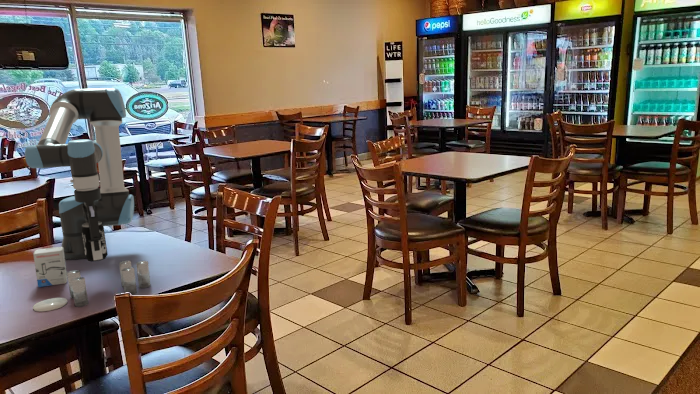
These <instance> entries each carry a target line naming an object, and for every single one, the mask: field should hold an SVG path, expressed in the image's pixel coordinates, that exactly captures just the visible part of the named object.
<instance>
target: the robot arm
mask: <svg viewBox="0 0 700 394" xmlns="http://www.w3.org/2000/svg"><path fill="white" fill-rule="evenodd" d="M126 111H127V110H126V106H125V102H124V99H123V96H122V94H121V92H120V90H119V89H117V88H115V87H110V88H109V87H98V88H96V87H95V88H74V89H71V90H68V91H66V92H64V93H63V94H61V95H60V96H58V97H57V98H56V99H54V101H53V102H52V103H51V105H50V108H49V115H50V116H49V118H48V120H47V122H46V125H45V127H44V130H43V132H42V134H41V137H40V138H39V141H38V143H37V144H33V145H28V146H26V148H25V150H24V158H25V163H26V164H27V165H28V167H29V168H31V169H47V168H63V167H66V168H67V167H70V173H71V174H70V175H71V179H70V181H69V182H70V184H71V183H72V186H73V189H74V190H73V193H74V195H73V196H72V195H71V196H69V197H66V198H63V199H62V200H60V201H59V203H58V214H59V219H60V226H61V230H62V231H61V232H62V242H61V246H60V247H63V248H64V256H65V260H82V259H86V257H85V250H84V244H83V237H82V231H81V229H82V227H83V226H82V225H83V224H84V223H88V224H89V230H90V235H91V240H89V242H91V246H92V253H93V260H100V259H103V256H102V249H101V242H100V240H101V237H100V231H99V225H98V221H99V222H102V225H103V227H110V226H121V225H128V224H131V222H132V220H133V218H134V213H135V197H134V195H133V194H130V191H129V189H128V188H127V187H125V181H124V179H125V178H124V171H123V170H124V169H123V159H122V149H121V139H120V137H121V136H120V130H119V127H120V126H121V125H122V124H123V119H124V118H126V117H127V113H126ZM77 120H89V124H91V126H92V127H93V128H94V133H95V134H94V135H95V141H93V140H92V139H84V138H83V139H74V140H70V141H68V142H67V140H68V137H69V134H70V133H71V129H72V126H73V125H74V124H75V123H76V122H77ZM66 142H67V143H66ZM97 166H98V167H97ZM103 260H104V259H103ZM100 261H101V260H100Z"/></svg>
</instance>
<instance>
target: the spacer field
mask: <svg viewBox="0 0 700 394" xmlns="http://www.w3.org/2000/svg"><path fill="white" fill-rule="evenodd" d="M118 265H119V274H120V282H121V287H122V288H123V290H124V291H123V292H124V293H125V292H130V293H131V294H132V295H131V296H134V295H136V294H137V293H138V290H137V284H138V288H139V289H146V287H147V288H149V287H151V276H150V268H149V262H148V261H147V260H143V261H142V260H141V261H138V262H136V263H135V266H136V272H135V268H134V267H132V261H131V260H123V261H119V262H118ZM135 273H137V274H135ZM136 275H137V281H136ZM67 278H68V279H67V282H68V289H69V295H70V299H73V300H74V306H75V307H76V308H77V307H78V308H79V307H85V306H87V305H89V297H88V292H87V291H88V290H87V284H86V278H85V277H83V276H81V270H78V269H76V270H75V269H74V270H70V271H67ZM137 282H138V283H137Z"/></svg>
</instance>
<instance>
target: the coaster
mask: <svg viewBox="0 0 700 394" xmlns="http://www.w3.org/2000/svg"><path fill="white" fill-rule="evenodd" d="M67 303H68V299H67V298H64V297H51V298H48V299H44V300H41V301H39V302H37V303H35V304H34V305H33V306H32V309H33V311H35V312H39V313H42V312H49V311H54V310H57V309H60V308H62V307H65V306H66V305H67Z"/></svg>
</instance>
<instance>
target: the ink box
mask: <svg viewBox="0 0 700 394" xmlns="http://www.w3.org/2000/svg"><path fill="white" fill-rule="evenodd" d="M33 261H34V267H35V269H34V270H35V276H36V282H37V287H38V288H43V287H50V286H56V285H64V284H66V283H67V282H68V276H67V273H68V271H67V264H66V259H65V256H64V248H63V247H61V246H56V247H47V248H38V249H35V250H34V251H33Z"/></svg>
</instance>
